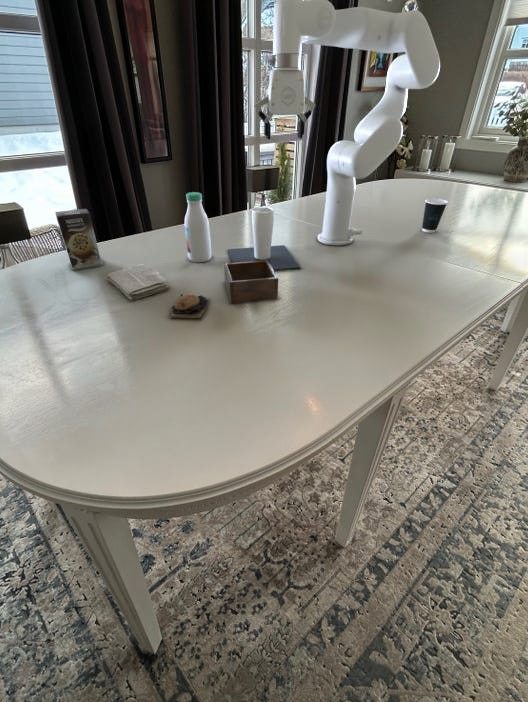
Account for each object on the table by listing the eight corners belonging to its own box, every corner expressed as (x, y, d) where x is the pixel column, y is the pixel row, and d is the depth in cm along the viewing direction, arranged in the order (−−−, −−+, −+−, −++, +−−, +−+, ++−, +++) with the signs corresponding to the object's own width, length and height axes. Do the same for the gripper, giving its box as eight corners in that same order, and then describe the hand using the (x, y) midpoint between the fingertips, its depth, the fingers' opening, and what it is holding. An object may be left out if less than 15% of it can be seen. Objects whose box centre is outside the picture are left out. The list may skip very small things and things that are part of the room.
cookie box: (72, 270, 114) (55, 216, 104) (70, 263, 118) (53, 211, 108) (103, 265, 117) (89, 212, 107) (100, 258, 121) (86, 207, 112)
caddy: (267, 279, 108) (267, 260, 104) (277, 299, 98) (278, 278, 94) (224, 283, 106) (223, 263, 102) (231, 303, 96) (229, 282, 92)
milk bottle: (215, 255, 123) (211, 191, 111) (205, 264, 117) (199, 197, 106) (194, 253, 125) (188, 189, 113) (184, 261, 120) (175, 195, 108)
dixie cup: (428, 235, 140) (436, 204, 133) (413, 229, 145) (420, 199, 139) (444, 232, 142) (453, 202, 135) (428, 226, 148) (436, 197, 141)
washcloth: (131, 302, 97) (129, 292, 95) (105, 280, 108) (103, 270, 106) (171, 289, 103) (170, 279, 101) (143, 270, 114) (141, 260, 112)
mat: (284, 246, 130) (284, 245, 130) (300, 268, 114) (300, 267, 114) (228, 250, 127) (227, 249, 126) (236, 274, 111) (236, 272, 111)
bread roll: (201, 320, 89) (200, 307, 87) (167, 318, 90) (165, 305, 88) (210, 299, 98) (209, 287, 96) (179, 298, 99) (177, 285, 96)
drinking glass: (270, 262, 117) (271, 213, 108) (250, 260, 118) (249, 212, 109) (274, 254, 122) (275, 207, 113) (254, 253, 123) (254, 206, 114)
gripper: (257, 63, 94) (257, 140, 104) (322, 63, 96) (316, 139, 106) (252, 64, 99) (252, 137, 110) (313, 64, 102) (308, 136, 112)
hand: (284, 138), depth 108 cm, fingers open, 9 cm apart
